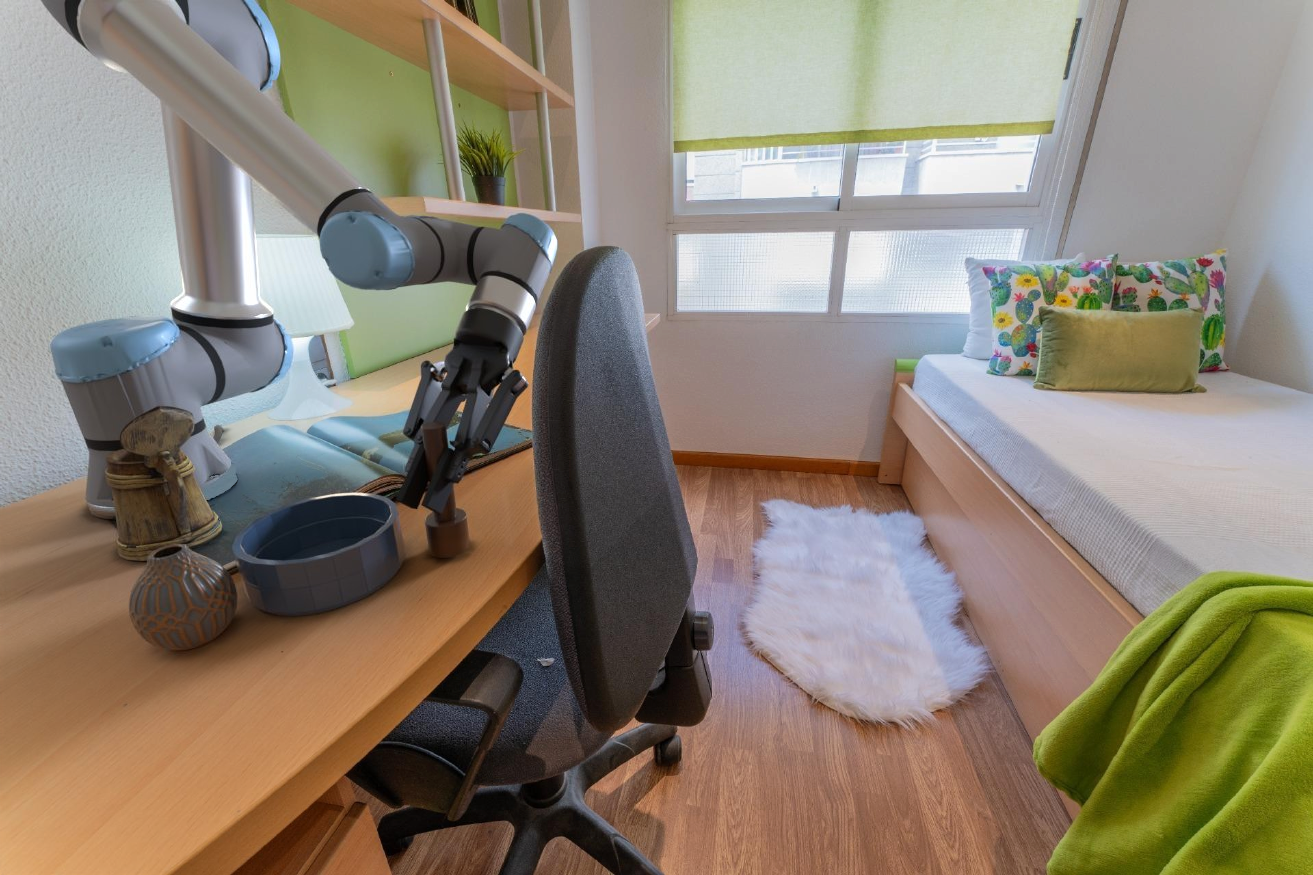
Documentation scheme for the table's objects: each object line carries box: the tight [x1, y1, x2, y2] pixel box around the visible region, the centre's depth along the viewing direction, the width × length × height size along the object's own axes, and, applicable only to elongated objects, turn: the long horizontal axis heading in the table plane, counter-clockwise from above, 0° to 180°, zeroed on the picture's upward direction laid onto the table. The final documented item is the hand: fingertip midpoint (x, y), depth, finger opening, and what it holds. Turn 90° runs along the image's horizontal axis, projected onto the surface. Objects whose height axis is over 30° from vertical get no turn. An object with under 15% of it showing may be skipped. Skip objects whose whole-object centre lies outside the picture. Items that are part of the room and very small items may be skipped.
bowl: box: [231, 492, 406, 617], centre depth 55 cm, size 14×14×6 cm
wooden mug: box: [105, 406, 223, 562], centre depth 57 cm, size 9×14×18 cm, turn 61°
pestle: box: [421, 422, 471, 559], centre depth 57 cm, size 4×4×15 cm
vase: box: [128, 544, 238, 651], centre depth 45 cm, size 7×7×9 cm
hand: (419, 506), depth 54 cm, fingers closed on pestle, 2 cm apart
